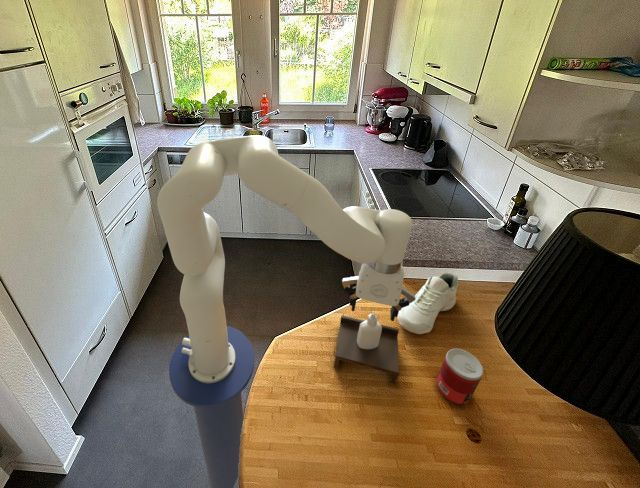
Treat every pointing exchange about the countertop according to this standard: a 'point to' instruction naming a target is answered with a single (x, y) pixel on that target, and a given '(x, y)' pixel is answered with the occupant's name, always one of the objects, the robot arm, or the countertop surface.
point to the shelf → (375, 358)
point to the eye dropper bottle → (369, 333)
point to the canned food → (459, 376)
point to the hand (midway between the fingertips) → (372, 311)
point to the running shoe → (429, 303)
